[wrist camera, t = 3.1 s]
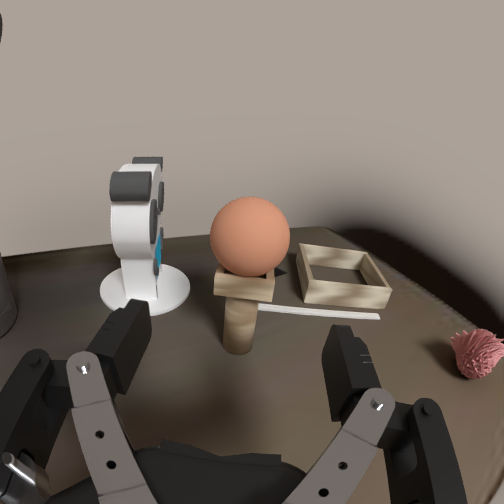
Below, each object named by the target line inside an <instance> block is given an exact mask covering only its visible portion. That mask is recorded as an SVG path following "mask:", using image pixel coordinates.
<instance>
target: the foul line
mask: <svg viewBox="0 0 504 504" xmlns="http://www.w3.org/2000/svg"><path fill="white" fill-rule="evenodd" d="M258 310H263V311H272V312H282V313H293V314H303V315H315V316H328V317H342V318H357V319H376V320H380V317H379V315H378V314H376V313H360V312H345V311H332V310H320V309H308V308H298V307H287V306H278V305H268V304H258Z"/></svg>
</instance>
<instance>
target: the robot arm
mask: <svg viewBox="0 0 504 504" xmlns="http://www.w3.org/2000/svg"><path fill="white" fill-rule="evenodd" d="M1 36H2V17H1V14H0V41H1ZM16 316H17V307H16V304H15V301H14V298H13V295H12V292H11V289H10V286H9V283H8V279H7V276H6V272H5V269H4V265H3V261H2V257H1V253H0V337H1V336H3V335H4V334H5V333H6V332H7V331H8V330H9V329H10V328H11V326H12V325H13V323H14V321H15V319H16ZM151 333H152V327H151V319H150V310H149V303H148V301H143V300H138V299H133V298H132V299H130V300H129V302H128V303H127V305H126V306H125V308H120V307H119V308H118V309H116V310H115V311H113V312H112V313H111V314H110V315H109V316H108V318H107V319H106V321H105V323H104V324H103V325H102V327H101V329H100V330H99V331H98V333H97V334H96V336H95V337H94V339H93V340H92V342H91V343H90V345H89V346H88V348H87V349H86V351H82V352H78V353H75V354H74V355H72V356H71V357H70V358H69V359H68V360H51V359H50V357H49V355H48V353H47V352H46V351H44V350H41V349H34V350H31V351H29V352H27V353H26V354H25V355H24V356H23V358H22V359H21V361H20V362H19V364H18V365H17V367H16V368H15V370H14V371H13V373H12V374H11V376H10V378H9V379H8V381H7V382H6V384H5V386H4V387H3V389H2V391H1V392H0V502H1V503H2V504H345V503H346V501H347V500H348V498H349V497H350V495H351V494H352V492H353V491H354V489H355V488H356V486H357V484H358V483H359V481H360V480H361V478H362V476H363V475H364V473H365V471H366V470H367V468H368V466H369V464H370V463H371V461H372V459H373V457H374V456H375V454H376V452H377V449H378V448H381V449H383V451H384V457H385V463H386V470H387V477H388V484H389V492H390V500H391V504H467V499H466V494H465V489H464V485H463V481H462V477H461V473H460V469H459V465H458V462H457V458H456V455H455V451H454V448H453V445H452V441H451V438H450V435H449V432H448V429H447V426H446V423H445V420H444V417H443V414H442V412H441V409H440V407H439V405H438V404H437V403H436V402H435V401H433V400H431V399H429V398H420V399H418V400H417V401H416V402H415V403H414V404H413V405H409V404H404V403H399V402H396V401H395V400H394V398H393V396H392V395H391V394H390V393H389V392H388V391H386V390H384V389H382V388H381V385H380V382H379V379H378V376H377V374H376V371H375V368H374V365H373V363H372V359H371V357H370V356H369V351H368V348H367V346H366V344H365V343H364V342H363V341H362V340H361V339H360V338H359V337H354V335H353V332H352V330H351V327H350V326H349V325H332V327H331V329H330V332H329V334H328V337H327V340H326V343H325V345H324V348H323V351H322V367H323V372H324V378H325V383H326V389H327V395H328V401H329V407H330V413H331V419H332V422H338V421H341V426H342V427H341V428H340V430H339V431H338V433H337V434H336V435H335V437H334V438H333V440H332V441H331V442H330V444H329V445H328V447H327V448H326V449H325V451H324V452H323V453H322V455H321V456H320V457H319V458H318V460H317V461H316V462H315V463H314V465H313V466H312V467H311V468H310V469H309V471H308V472H307V473H305V472H304V471H302V470H301V469H299V468H297V467H295V466H293V465H291V464H288V463H285V462H281V455H277V454H257V453H249V454H241V455H232V456H217V455H214V454H212V453H209V452H206V451H204V450H201V449H199V448H196V447H194V446H191V445H187V444H182V443H177V442H172V441H167V440H163V439H162V442H161V445H160V446H151V447H145V448H141V449H138V450H136V451H135V449H134V446H133V444H132V442H131V440H130V438H129V436H128V434H127V431H126V429H125V427H124V424H123V422H122V419H121V417H120V414H119V411H118V409H117V406H116V403H115V401H114V398H115V396H116V394H117V393H119V394H123V395H126V393H127V390H128V388H129V386H130V384H131V381H132V379H133V377H134V374H135V372H136V370H137V368H138V365H139V363H140V361H141V359H142V357H143V354H144V352H145V350H146V348H147V346H148V344H149V341H150V338H151ZM69 409H71V410H72V416H73V420H74V424H75V428H76V431H77V435H78V438H79V442H80V445H81V448H82V452H83V455H84V458H85V461H86V464H87V466H88V469H89V472H90V475H91V476H90V477H88V478H86V479H84V480H83V481H81V482H79V483H77V484H75V485H73V486H71V487H69V488H67V489H65V490H63V491H61V492H59V493H57V494H55V495H53V496H51V497H50V495H49V490H50V486H49V478H48V475H47V473H46V472H45V471H44V470H45V468H46V465H47V462H48V459H49V457H50V454H51V451H52V449H53V446H54V443H55V441H56V438H57V436H58V433H59V431H60V429H61V426H62V424H63V421H64V419H65V417H66V414H67V412H68V410H69Z"/></svg>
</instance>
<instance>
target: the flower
mask: <svg viewBox="0 0 504 504" xmlns="http://www.w3.org/2000/svg"><path fill="white" fill-rule="evenodd" d="M470 332H471V333H469V334H467V332H466V331H464V330H463V334H462V336H461V335H459V334H457V333H456V334H455V336H456V339H455V338H453V337H451V339H452V342H453V343H452V342H451V343H450V344H451V346H452V349H453V350H454V351H455V353H456V360H457V366H458V370H460V371H461V374H463V375H465V377H468V378H473V379H480V378H481V377H483V376H485V375H488V374H489V372H491V368H492V367H495V365H496V363H497V362H498V360H500V358H501V357H503V356H504V348H503V347H504V344H502V343H501V341H503V340H504V339H496V338H495V336H496V334H494V335H493V334H492V332H488V330H484V329H478V330H477V329H476V331H475V329H474V330H473V331H470Z"/></svg>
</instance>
